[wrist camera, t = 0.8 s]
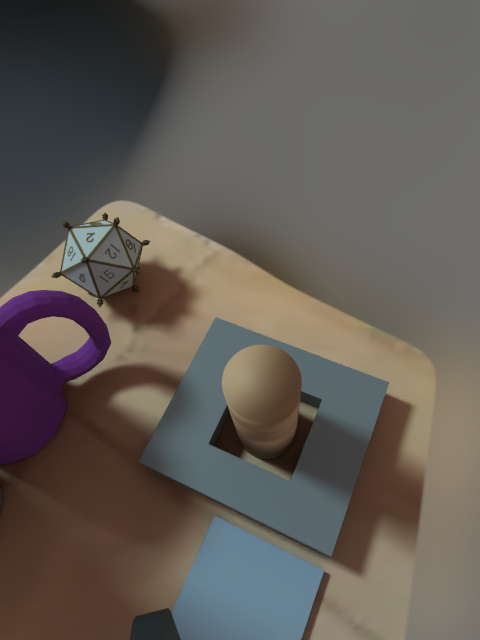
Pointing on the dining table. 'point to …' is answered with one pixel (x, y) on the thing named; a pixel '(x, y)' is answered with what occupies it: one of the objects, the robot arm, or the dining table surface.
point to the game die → (101, 257)
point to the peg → (263, 399)
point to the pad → (245, 589)
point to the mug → (40, 370)
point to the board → (252, 481)
